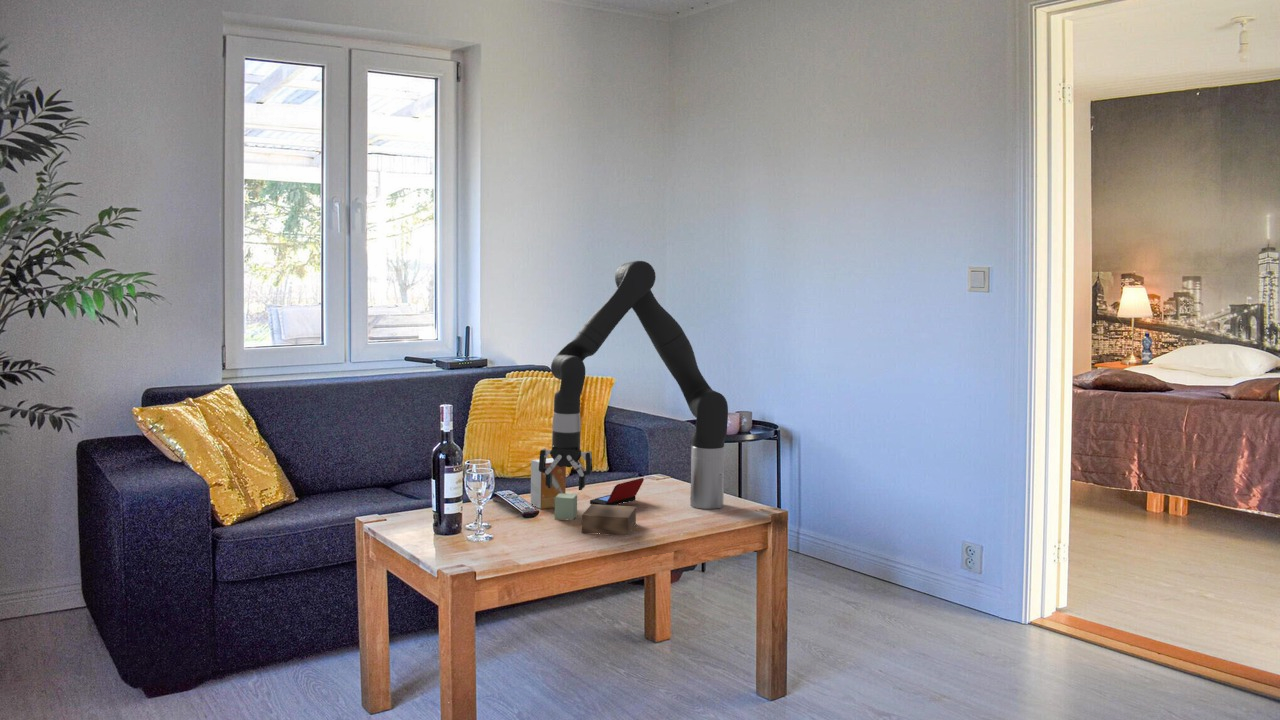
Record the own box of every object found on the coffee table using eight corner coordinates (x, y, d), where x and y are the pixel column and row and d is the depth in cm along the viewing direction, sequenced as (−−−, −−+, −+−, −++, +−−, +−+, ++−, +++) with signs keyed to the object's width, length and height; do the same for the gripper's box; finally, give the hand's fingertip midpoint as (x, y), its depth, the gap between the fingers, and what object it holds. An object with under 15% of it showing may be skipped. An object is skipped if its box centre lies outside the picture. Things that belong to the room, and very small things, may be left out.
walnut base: (635, 525, 264) (636, 506, 263) (628, 537, 252) (628, 517, 251) (591, 522, 265) (591, 504, 265) (581, 534, 254) (581, 515, 253)
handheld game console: (616, 496, 295) (617, 472, 294) (644, 502, 288) (645, 477, 288) (587, 504, 286) (588, 478, 285) (616, 510, 279) (616, 484, 278)
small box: (540, 509, 277) (540, 463, 276) (530, 504, 282) (530, 459, 281) (566, 506, 282) (566, 460, 280) (555, 501, 287) (555, 456, 286)
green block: (577, 515, 271) (577, 494, 270) (572, 520, 266) (573, 498, 266) (559, 514, 272) (559, 493, 271) (554, 519, 267) (554, 497, 266)
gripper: (595, 428, 269) (593, 487, 271) (544, 425, 272) (542, 484, 273) (589, 432, 262) (588, 493, 263) (537, 429, 264) (535, 490, 266)
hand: (565, 488), depth 268 cm, fingers open, 8 cm apart
